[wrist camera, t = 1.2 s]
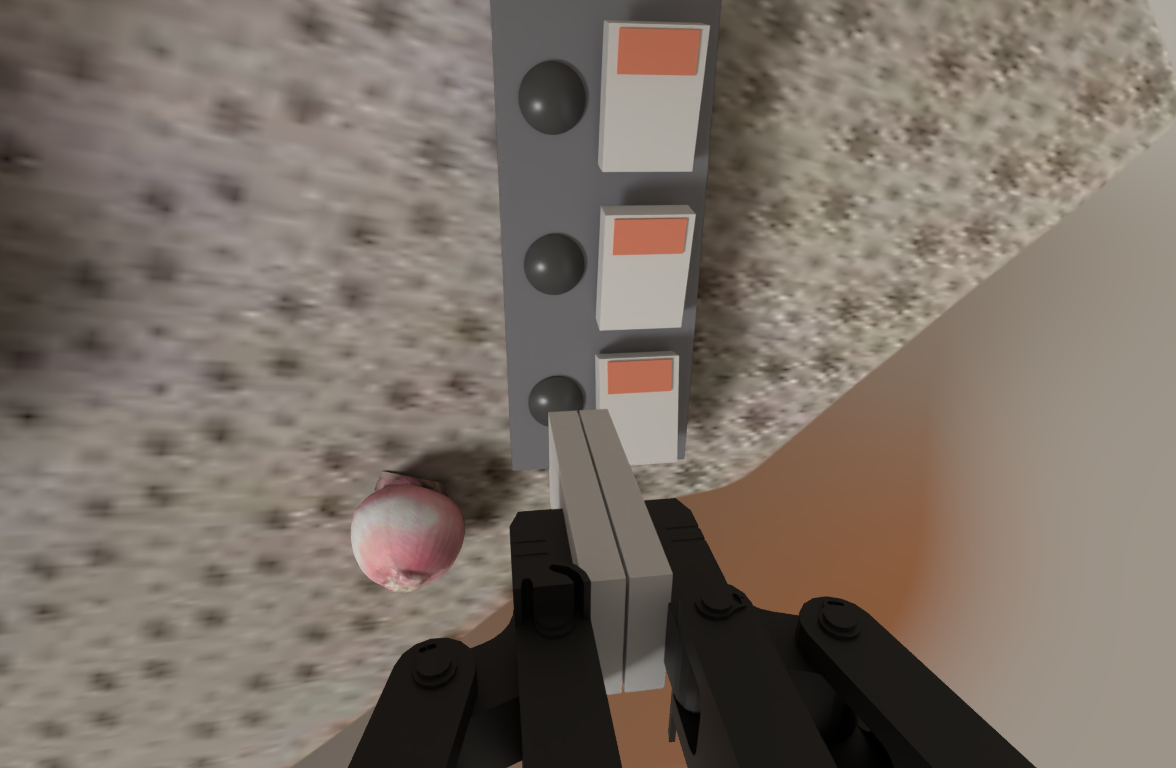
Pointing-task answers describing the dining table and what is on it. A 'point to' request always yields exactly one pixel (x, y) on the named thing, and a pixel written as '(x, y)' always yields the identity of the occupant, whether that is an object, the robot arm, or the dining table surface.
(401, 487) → the onion
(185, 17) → the dining table surface
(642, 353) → the rocker
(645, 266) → the rocker
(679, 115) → the rocker
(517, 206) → the switch panel
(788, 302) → the dining table surface
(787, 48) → the dining table surface
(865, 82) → the dining table surface
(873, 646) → the robot arm
